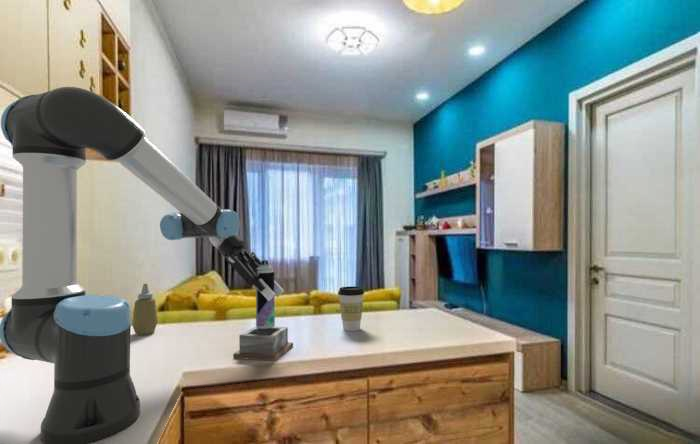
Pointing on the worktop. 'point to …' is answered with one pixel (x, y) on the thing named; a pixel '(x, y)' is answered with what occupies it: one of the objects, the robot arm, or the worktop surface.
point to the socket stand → (263, 343)
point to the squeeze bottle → (145, 313)
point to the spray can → (263, 306)
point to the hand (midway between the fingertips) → (276, 295)
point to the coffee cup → (351, 307)
